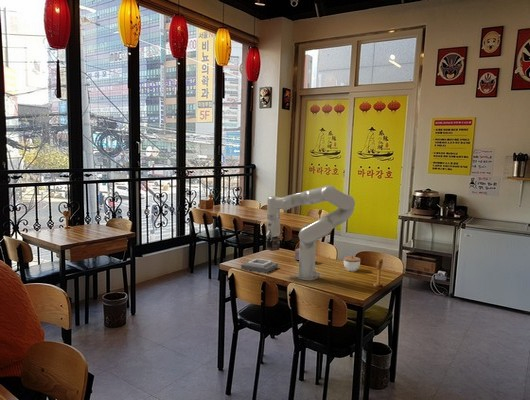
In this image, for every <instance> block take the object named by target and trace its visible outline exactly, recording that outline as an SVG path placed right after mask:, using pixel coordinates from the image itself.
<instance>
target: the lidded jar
mask: <svg viewBox="0 0 530 400" xmlns="http://www.w3.org/2000/svg"><path fill="white" fill-rule="evenodd" d="M361 259H362V258H360V257H357V256H354V255H350V256H344V257H343V266H344V268H345V269H346V271H348V272H357V271H358V270H359V268H360V266H361V261H362V260H361Z"/></svg>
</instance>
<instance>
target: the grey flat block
mask: <svg viewBox="0 0 530 400" xmlns="http://www.w3.org/2000/svg"><path fill="white" fill-rule="evenodd" d="M240 266H241V267H240V269H241V270H242V269H245V270H244V271H248V270H251V271H250V272H254V271H258V272H257V273H260V272H264V273H263V274H266V273H267V272H269V271H271V270H273V269H274V270H276V269H278V268H279V263H278V262H273V261H272V260H270V259H269V260H268V259H261V258H254V259H251V260H249V261H247V262H244V263H242V264H241V265H240ZM277 267H278V268H277ZM275 268H276V269H275ZM274 270H273V271H274ZM271 272H272V271H271ZM269 273H270V272H269ZM267 274H268V273H267Z"/></svg>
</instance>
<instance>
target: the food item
mask: <svg viewBox="0 0 530 400" xmlns="http://www.w3.org/2000/svg"><path fill="white" fill-rule="evenodd" d="M299 249H300V247H297V248H296V249H295V250H294V260H295V261H296V260H299Z"/></svg>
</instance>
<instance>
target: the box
mask: <svg viewBox="0 0 530 400" xmlns="http://www.w3.org/2000/svg"><path fill="white" fill-rule="evenodd" d="M270 239H271V237H270ZM280 240H281V239H280V237H279V238H277V237H273V238H272V248H269V247H267V237H265V250H268V251H271V252H274V251H280V247H281V245H280V242H281V241H280Z"/></svg>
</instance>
